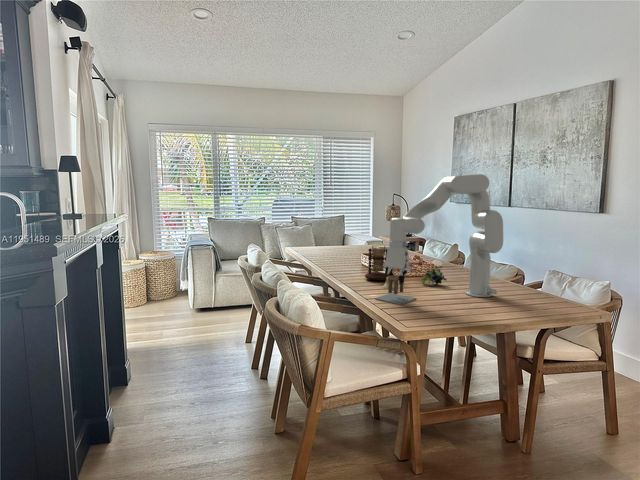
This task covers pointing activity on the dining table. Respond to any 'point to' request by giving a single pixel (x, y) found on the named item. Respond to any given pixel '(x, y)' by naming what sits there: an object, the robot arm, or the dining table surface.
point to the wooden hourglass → (377, 264)
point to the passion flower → (433, 276)
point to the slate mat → (396, 298)
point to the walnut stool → (395, 278)
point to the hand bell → (388, 284)
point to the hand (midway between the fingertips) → (396, 282)
